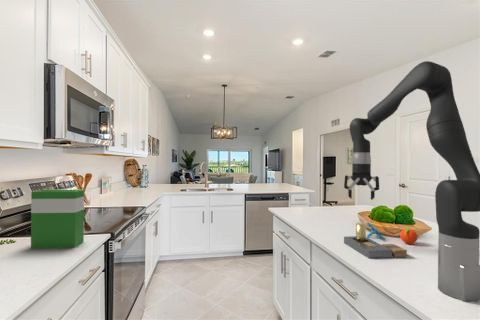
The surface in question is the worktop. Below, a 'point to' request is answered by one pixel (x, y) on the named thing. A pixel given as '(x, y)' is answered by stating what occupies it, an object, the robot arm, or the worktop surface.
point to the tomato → (408, 236)
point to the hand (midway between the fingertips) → (361, 198)
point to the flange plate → (368, 248)
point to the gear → (373, 231)
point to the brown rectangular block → (396, 250)
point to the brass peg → (360, 232)
